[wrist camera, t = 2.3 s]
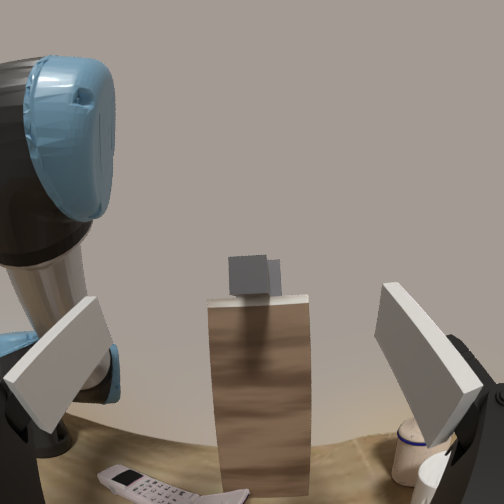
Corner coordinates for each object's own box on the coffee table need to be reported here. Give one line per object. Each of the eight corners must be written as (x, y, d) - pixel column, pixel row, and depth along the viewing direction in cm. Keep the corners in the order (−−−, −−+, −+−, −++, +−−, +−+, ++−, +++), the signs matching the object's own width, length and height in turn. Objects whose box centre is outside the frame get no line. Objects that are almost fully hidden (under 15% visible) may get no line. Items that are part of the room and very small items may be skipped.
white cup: (468, 527, 7) (498, 467, 9) (407, 553, 9) (434, 499, 11) (445, 498, 15) (465, 441, 17) (392, 516, 16) (408, 462, 18)
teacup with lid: (453, 473, 19) (470, 409, 22) (403, 496, 20) (419, 431, 22) (419, 446, 31) (427, 390, 33) (375, 460, 31) (381, 403, 34)
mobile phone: (234, 515, 18) (80, 452, 25) (238, 542, 17) (89, 480, 24) (252, 488, 23) (106, 442, 31) (254, 515, 22) (113, 469, 30)
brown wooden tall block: (308, 495, 26) (308, 294, 32) (224, 496, 27) (207, 299, 32) (302, 462, 36) (300, 296, 41) (233, 464, 36) (222, 300, 42)
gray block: (287, 291, 21) (283, 229, 22) (210, 295, 21) (209, 234, 22) (280, 297, 42) (278, 265, 42) (241, 299, 42) (240, 267, 43)
